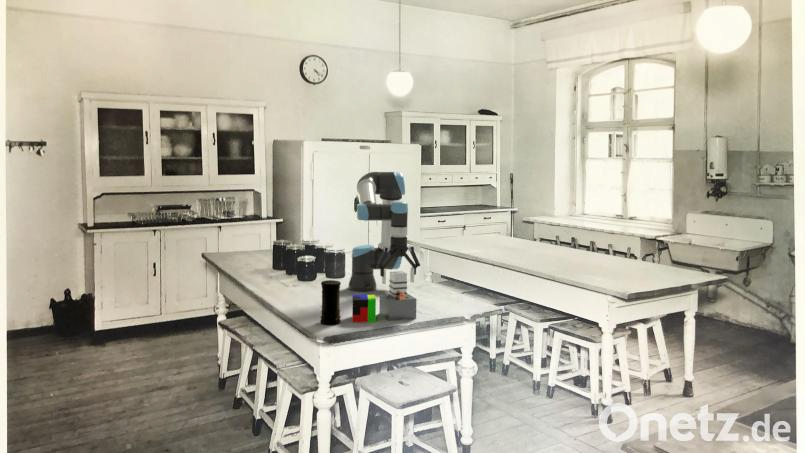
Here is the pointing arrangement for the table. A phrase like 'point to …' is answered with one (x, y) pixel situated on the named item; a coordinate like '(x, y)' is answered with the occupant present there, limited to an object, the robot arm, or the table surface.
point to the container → (330, 302)
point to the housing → (398, 307)
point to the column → (397, 284)
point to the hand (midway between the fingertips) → (398, 282)
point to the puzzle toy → (364, 308)
